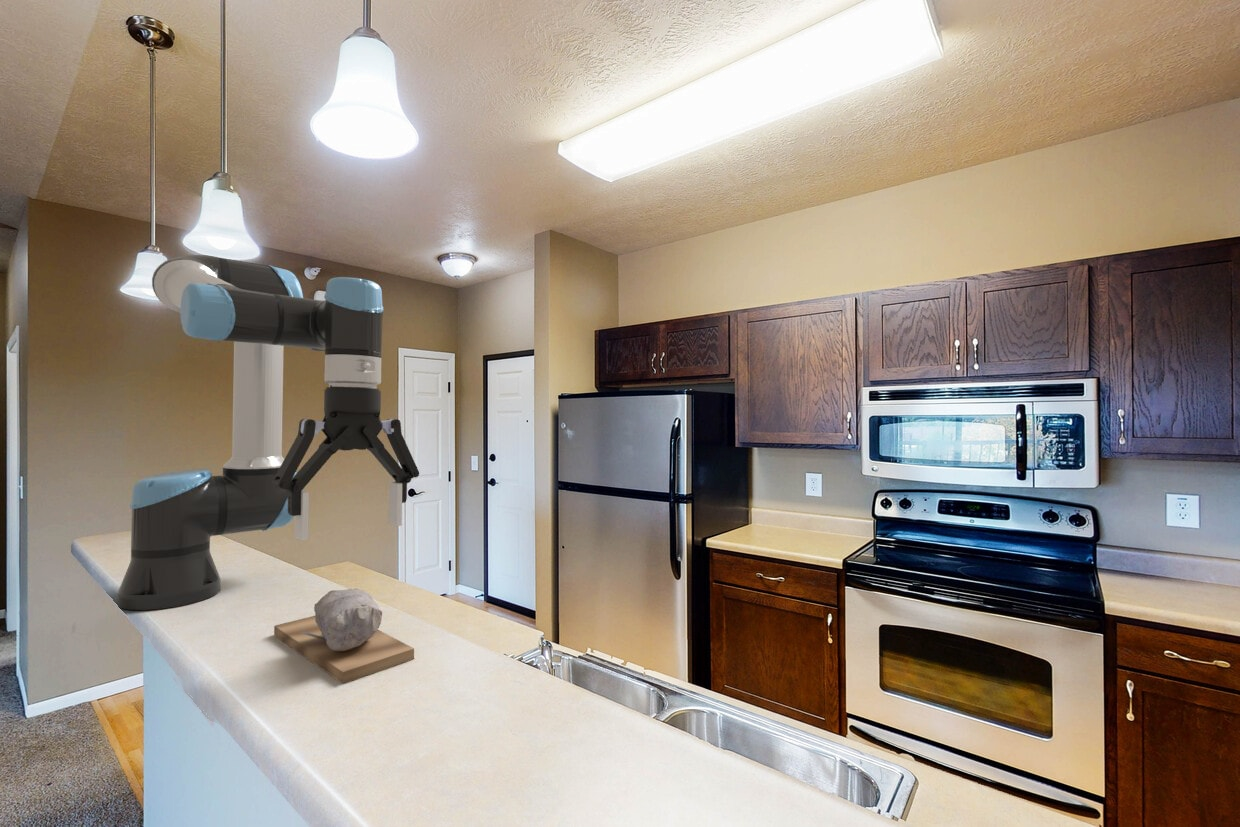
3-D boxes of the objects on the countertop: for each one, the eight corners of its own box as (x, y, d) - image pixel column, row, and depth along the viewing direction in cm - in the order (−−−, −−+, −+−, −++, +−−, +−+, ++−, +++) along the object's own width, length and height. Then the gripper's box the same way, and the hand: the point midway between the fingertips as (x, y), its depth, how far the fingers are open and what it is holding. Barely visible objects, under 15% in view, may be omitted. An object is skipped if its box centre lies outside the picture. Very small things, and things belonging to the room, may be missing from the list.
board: (274, 635, 90) (274, 625, 90) (339, 618, 97) (339, 609, 97) (342, 683, 74) (343, 671, 74) (414, 658, 82) (414, 648, 82)
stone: (328, 661, 77) (329, 610, 77) (311, 633, 86) (313, 588, 86) (389, 648, 82) (391, 599, 82) (368, 623, 91) (369, 579, 91)
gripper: (267, 381, 72) (264, 550, 72) (443, 389, 91) (440, 522, 91) (246, 382, 77) (244, 540, 77) (417, 389, 96) (415, 516, 96)
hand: (350, 531), depth 84 cm, fingers open, 13 cm apart
